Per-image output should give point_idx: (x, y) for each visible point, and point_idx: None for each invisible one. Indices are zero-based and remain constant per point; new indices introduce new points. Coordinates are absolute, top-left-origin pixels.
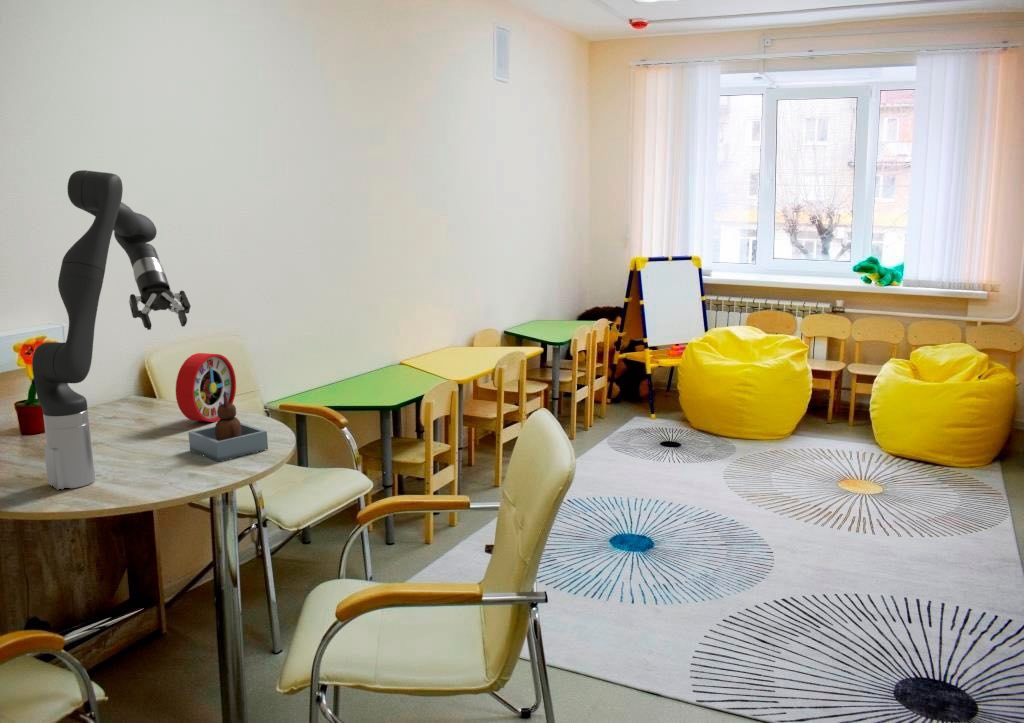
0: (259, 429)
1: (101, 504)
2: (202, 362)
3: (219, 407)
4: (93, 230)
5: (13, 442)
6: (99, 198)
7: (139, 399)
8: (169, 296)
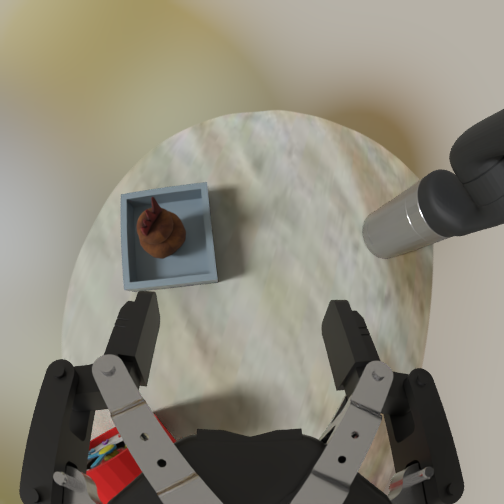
0: (122, 211)
1: (364, 143)
2: (105, 463)
3: (167, 219)
4: None
5: (389, 467)
6: None
7: None
8: (154, 488)
